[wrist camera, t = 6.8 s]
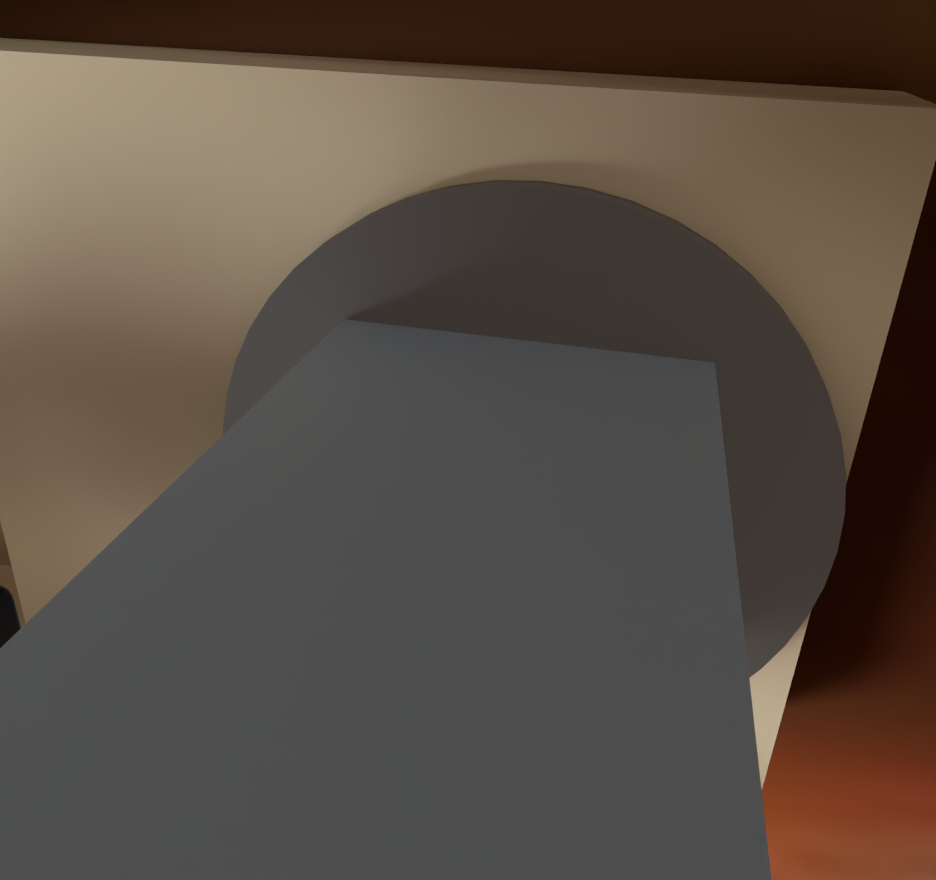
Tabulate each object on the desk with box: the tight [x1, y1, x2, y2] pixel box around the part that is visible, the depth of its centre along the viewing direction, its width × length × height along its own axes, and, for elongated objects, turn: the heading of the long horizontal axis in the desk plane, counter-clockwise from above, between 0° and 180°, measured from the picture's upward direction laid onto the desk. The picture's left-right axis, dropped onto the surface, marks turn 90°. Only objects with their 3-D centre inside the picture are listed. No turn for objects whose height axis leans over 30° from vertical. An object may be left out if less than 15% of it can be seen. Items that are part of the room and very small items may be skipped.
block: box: [0, 319, 771, 880], centre depth 8 cm, size 4×4×8 cm
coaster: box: [223, 180, 846, 678], centre depth 11 cm, size 8×8×1 cm
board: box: [0, 38, 936, 790], centre depth 13 cm, size 10×19×2 cm, turn 89°
